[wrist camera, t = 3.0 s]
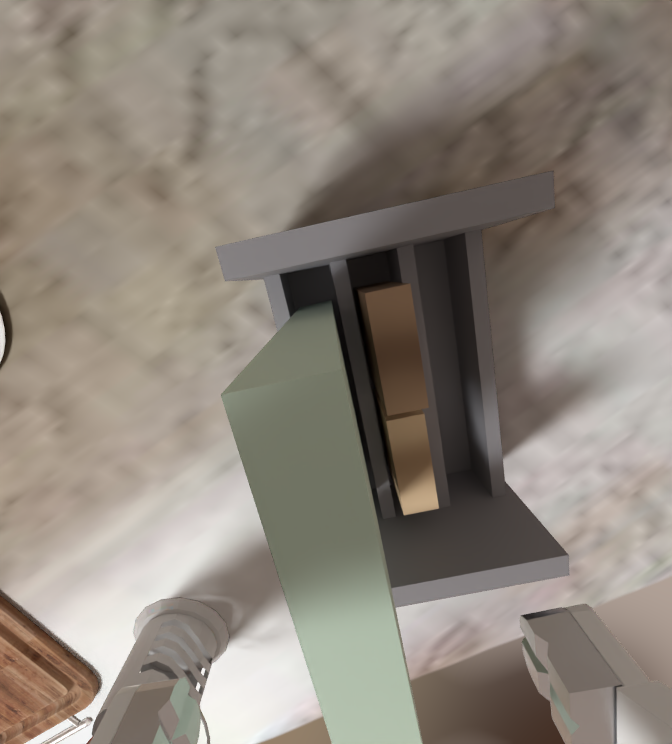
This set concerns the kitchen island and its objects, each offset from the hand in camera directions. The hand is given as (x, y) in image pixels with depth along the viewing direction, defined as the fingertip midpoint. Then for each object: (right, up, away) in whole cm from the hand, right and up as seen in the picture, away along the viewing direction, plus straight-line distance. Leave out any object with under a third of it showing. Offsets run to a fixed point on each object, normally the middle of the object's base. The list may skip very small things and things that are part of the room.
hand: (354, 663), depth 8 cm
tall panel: (0, +5, +20) cm, 20 cm away
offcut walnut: (+3, +10, +18) cm, 21 cm away
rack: (+4, +7, +21) cm, 22 cm away
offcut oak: (+4, +3, +20) cm, 21 cm away
